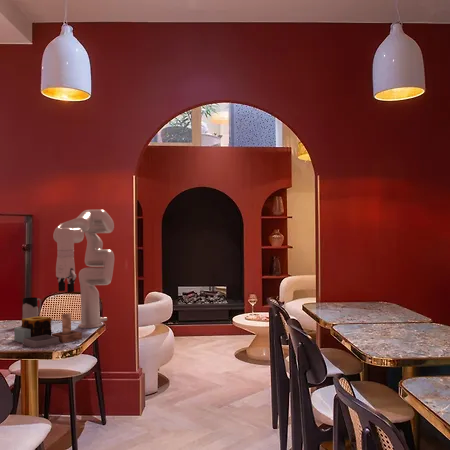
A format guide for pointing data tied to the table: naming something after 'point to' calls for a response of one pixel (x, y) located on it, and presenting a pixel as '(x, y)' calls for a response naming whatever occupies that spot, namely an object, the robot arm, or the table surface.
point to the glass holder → (30, 307)
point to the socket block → (68, 336)
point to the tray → (41, 341)
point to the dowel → (66, 324)
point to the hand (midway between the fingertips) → (66, 291)
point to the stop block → (21, 334)
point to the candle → (38, 325)
